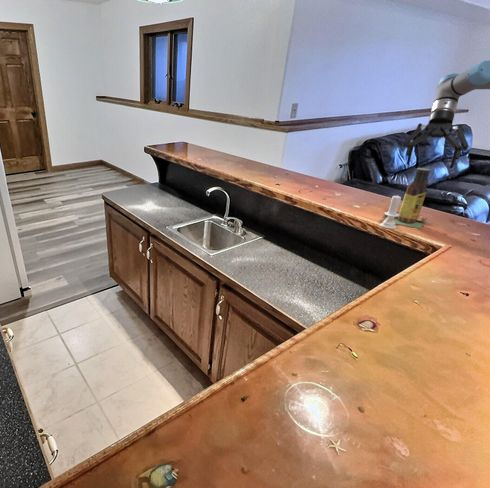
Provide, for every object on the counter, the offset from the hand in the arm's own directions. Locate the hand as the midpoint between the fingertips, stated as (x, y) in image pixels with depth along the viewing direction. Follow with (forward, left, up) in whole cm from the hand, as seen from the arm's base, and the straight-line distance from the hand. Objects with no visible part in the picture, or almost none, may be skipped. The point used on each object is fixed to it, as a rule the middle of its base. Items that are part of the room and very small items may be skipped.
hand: (429, 164), depth 133 cm
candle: (+6, +22, -20) cm, 30 cm away
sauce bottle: (+1, +13, -19) cm, 23 cm away
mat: (+2, +13, -20) cm, 23 cm away
